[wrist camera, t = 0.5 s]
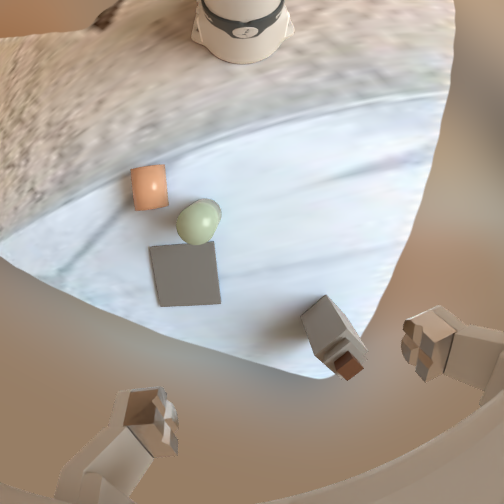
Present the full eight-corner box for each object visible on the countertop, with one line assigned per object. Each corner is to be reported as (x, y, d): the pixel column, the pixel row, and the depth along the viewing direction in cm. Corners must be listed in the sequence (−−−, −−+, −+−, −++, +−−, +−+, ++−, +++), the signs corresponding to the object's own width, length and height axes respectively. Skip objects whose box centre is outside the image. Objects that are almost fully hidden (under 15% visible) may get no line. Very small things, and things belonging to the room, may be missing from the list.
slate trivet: (151, 246, 53) (149, 247, 52) (214, 241, 53) (213, 242, 52) (161, 305, 56) (160, 306, 55) (221, 302, 56) (220, 303, 55)
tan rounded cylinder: (136, 169, 49) (125, 169, 43) (168, 164, 49) (160, 164, 43) (140, 207, 51) (130, 212, 45) (171, 203, 51) (164, 207, 45)
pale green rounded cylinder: (188, 200, 51) (174, 208, 40) (220, 197, 51) (213, 204, 40) (192, 231, 52) (178, 246, 42) (223, 228, 52) (217, 243, 42)
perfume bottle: (320, 335, 59) (344, 392, 41) (300, 316, 57) (320, 372, 40) (345, 315, 58) (377, 366, 40) (326, 294, 56) (356, 344, 39)
